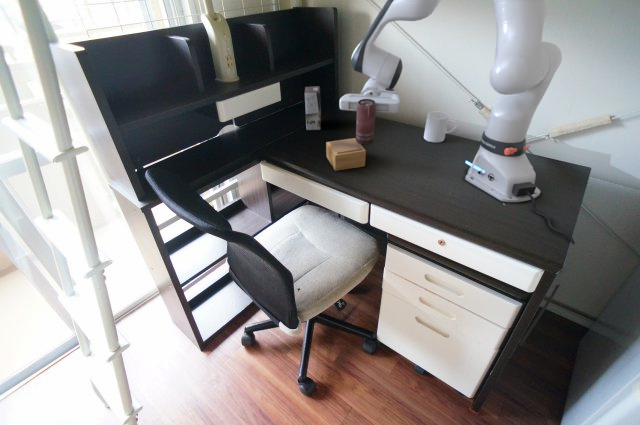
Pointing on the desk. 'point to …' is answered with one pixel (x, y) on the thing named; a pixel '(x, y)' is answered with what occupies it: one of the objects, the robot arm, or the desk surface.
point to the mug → (437, 126)
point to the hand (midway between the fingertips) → (366, 111)
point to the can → (365, 121)
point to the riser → (345, 154)
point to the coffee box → (313, 108)
